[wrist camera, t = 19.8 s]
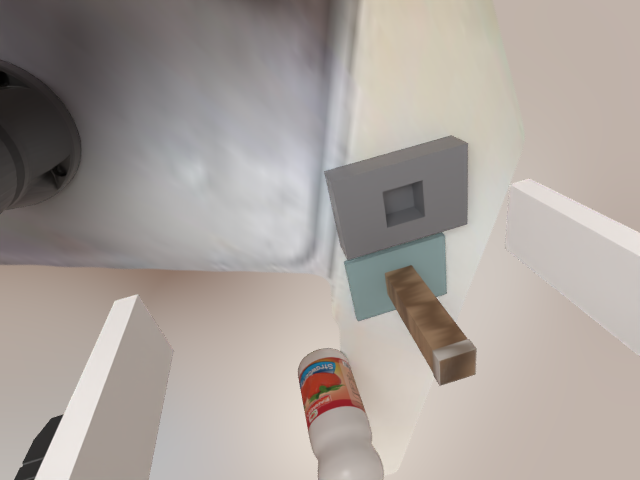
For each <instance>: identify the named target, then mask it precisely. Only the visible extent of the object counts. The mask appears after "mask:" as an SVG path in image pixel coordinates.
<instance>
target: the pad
mask: <svg viewBox="0 0 640 480" xmlns="http://www.w3.org/2000/svg"><path fill="white" fill-rule="evenodd" d="M344 263H345V268H346V273H347V277H348V282H349V286H350V291H351V295H352V300H353V304H354V309H355V313H356V318H357V320H358V321H361V320H364V319H367V318H370V317H374V316H377V315H380V314H383V313H386V312H390V311H393V310H396V308H395V306H394V305H393V303H392V301H391V299H390V298H389V296H388V294H387V287H386V279H385V273H386V272H390V271H393V270H397V269H400V268H403V267H407V266H410V265H412V266H413V268H414V269H415V270H416V272H417V273H418V274H419V276H420V277H421V278H422V280H423V281H424V282H425V283H426V285H427V286H428V287H429V289H430V290H431V291H432V293H433V294H434V295H435V297H438V296H441V295H444V294H447V290H446V261H445V235H444V234H443V233H438V234H435V235H431V236H428V237H425V238H421V239H418V240H415V241H411V242H408V243H405V244H401V245H398V246H395V247H391V248H388V249H385V250H381V251H378V252H375V253H371V254H368V255H365V256H361V257H358V258H355V259H351V260H348V261H345V262H344Z"/></svg>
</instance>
